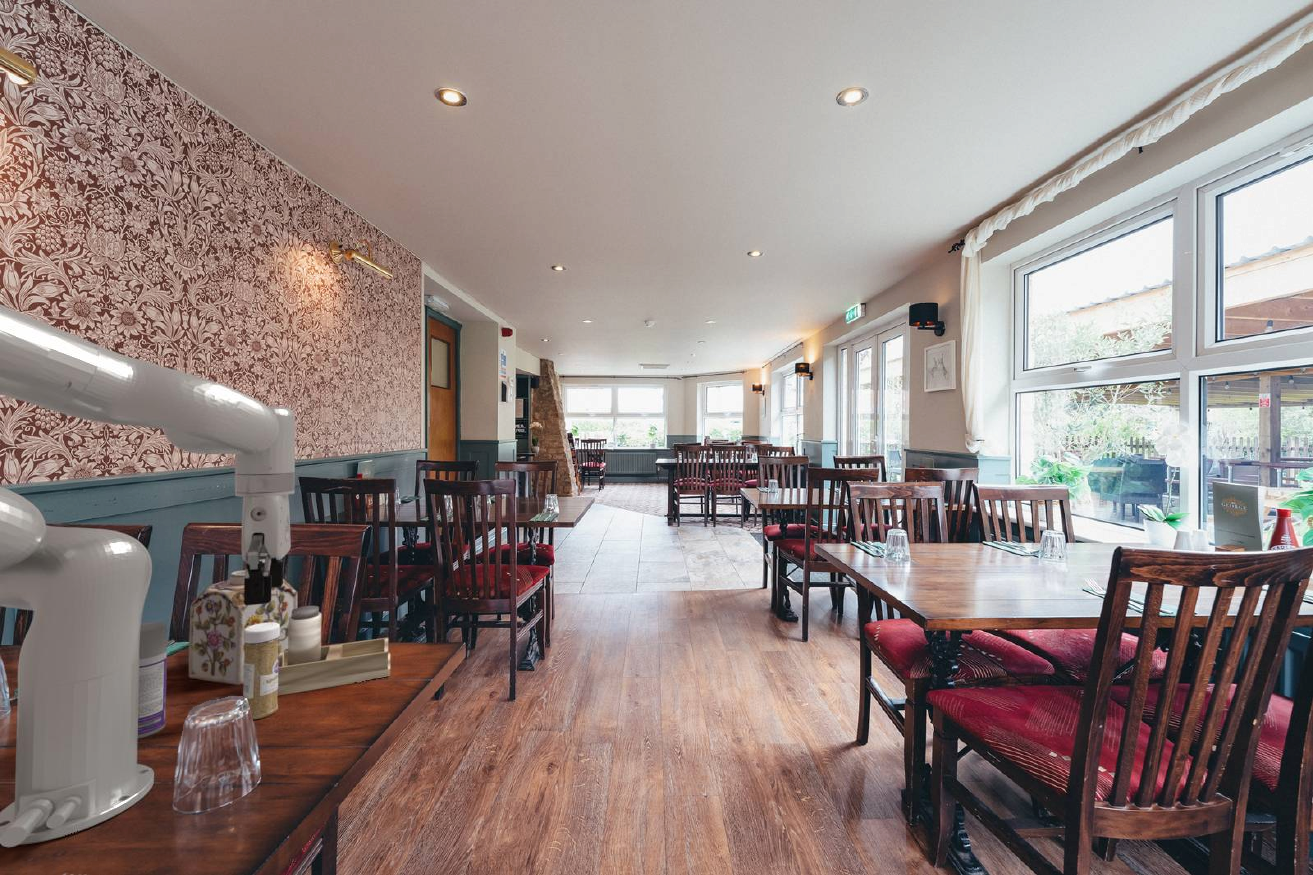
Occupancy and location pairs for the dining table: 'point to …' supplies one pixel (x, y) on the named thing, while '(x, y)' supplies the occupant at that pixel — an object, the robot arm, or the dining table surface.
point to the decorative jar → (232, 627)
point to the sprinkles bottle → (261, 668)
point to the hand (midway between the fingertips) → (264, 595)
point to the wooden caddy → (326, 657)
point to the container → (152, 678)
